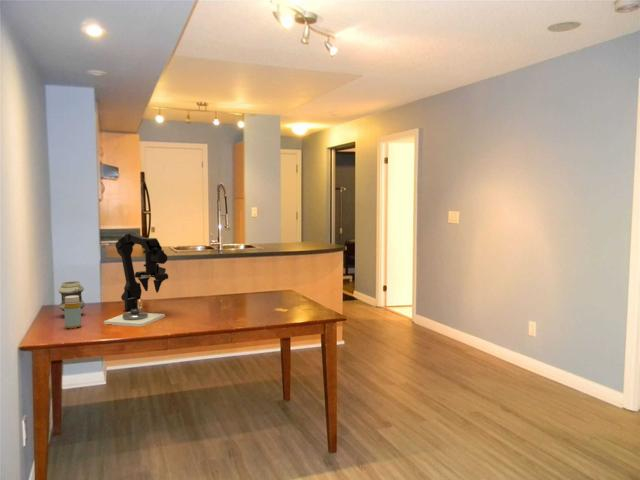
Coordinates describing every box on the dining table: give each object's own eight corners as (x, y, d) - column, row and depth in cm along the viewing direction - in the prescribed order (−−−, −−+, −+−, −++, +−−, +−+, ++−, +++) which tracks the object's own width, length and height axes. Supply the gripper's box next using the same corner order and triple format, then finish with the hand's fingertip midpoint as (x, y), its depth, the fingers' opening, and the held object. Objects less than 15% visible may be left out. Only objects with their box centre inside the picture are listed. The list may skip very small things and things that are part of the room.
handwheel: (144, 319, 247) (144, 306, 247) (119, 319, 246) (119, 306, 245) (152, 311, 266) (152, 298, 265) (129, 311, 264) (128, 299, 264)
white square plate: (103, 324, 245) (103, 321, 245) (129, 314, 265) (129, 311, 265) (141, 326, 240) (141, 323, 240) (164, 316, 261) (164, 314, 260)
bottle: (70, 329, 234) (69, 298, 233) (62, 327, 238) (60, 297, 237) (84, 326, 240) (83, 296, 239) (75, 324, 244) (74, 294, 243)
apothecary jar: (60, 314, 266) (59, 281, 264) (85, 312, 270) (84, 279, 269) (58, 319, 255) (56, 284, 253) (84, 317, 259) (83, 283, 258)
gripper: (175, 261, 263) (176, 290, 264) (150, 259, 272) (150, 287, 273) (159, 264, 253) (160, 294, 255) (133, 261, 262) (134, 291, 263)
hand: (151, 291), depth 262 cm, fingers open, 7 cm apart
